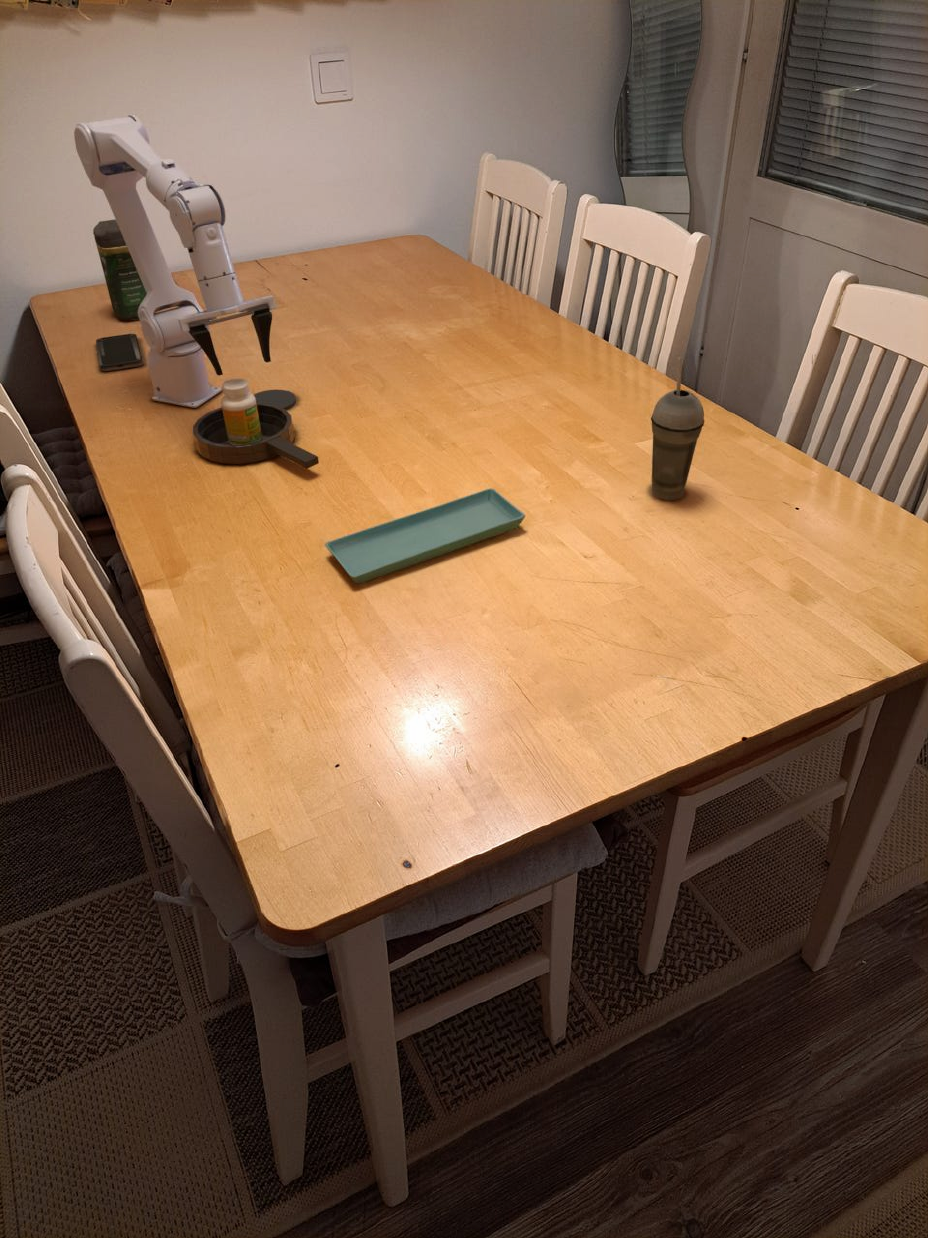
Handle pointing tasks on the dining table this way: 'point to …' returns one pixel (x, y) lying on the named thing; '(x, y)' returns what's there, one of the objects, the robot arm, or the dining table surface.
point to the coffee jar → (119, 271)
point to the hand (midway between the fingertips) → (243, 367)
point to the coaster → (276, 398)
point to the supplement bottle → (240, 413)
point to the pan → (218, 448)
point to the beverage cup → (674, 440)
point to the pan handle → (292, 452)
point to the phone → (119, 352)
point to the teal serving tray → (424, 535)
